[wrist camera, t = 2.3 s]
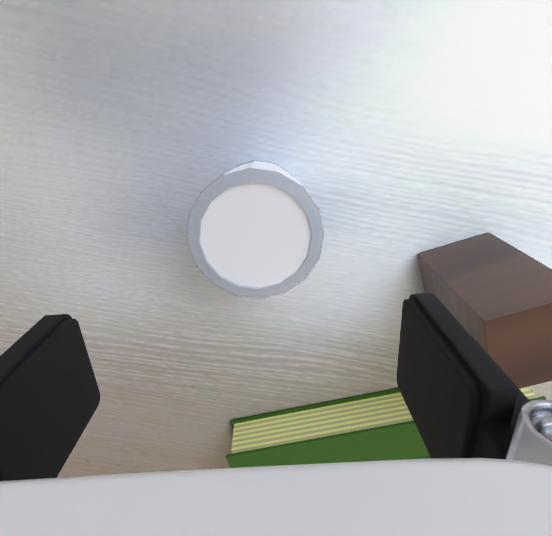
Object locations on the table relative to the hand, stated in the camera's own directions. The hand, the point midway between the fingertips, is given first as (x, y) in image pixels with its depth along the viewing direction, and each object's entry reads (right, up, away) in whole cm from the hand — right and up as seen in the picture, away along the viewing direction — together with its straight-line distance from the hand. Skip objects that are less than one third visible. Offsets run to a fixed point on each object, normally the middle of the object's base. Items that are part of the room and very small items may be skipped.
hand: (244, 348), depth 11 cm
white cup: (0, +7, +14) cm, 16 cm away
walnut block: (+14, +2, +16) cm, 22 cm away
